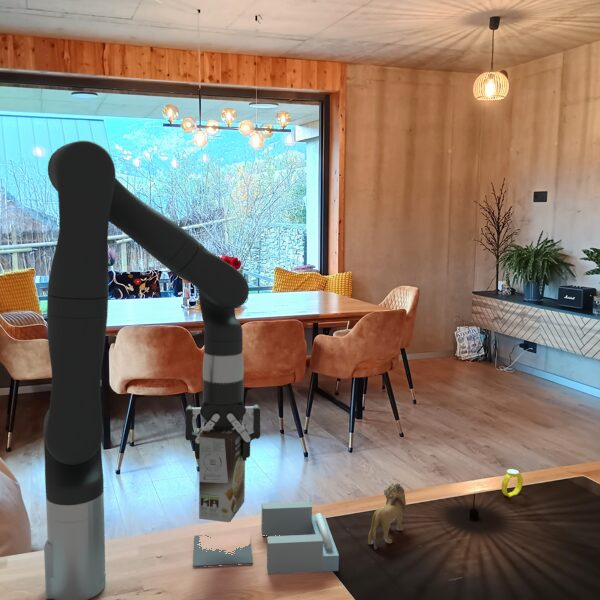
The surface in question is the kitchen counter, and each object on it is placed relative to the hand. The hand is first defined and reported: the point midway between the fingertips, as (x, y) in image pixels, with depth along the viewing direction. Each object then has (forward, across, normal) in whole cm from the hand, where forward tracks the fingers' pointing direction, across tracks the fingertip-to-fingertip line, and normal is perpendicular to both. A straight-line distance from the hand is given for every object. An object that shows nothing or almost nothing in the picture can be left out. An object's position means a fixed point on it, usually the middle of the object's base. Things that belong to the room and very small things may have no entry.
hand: (222, 459), depth 122 cm
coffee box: (+10, 0, 0) cm, 10 cm away
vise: (+18, +15, -1) cm, 23 cm away
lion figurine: (+19, +33, +4) cm, 39 cm away
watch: (+19, +68, +19) cm, 73 cm away
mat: (+18, 0, 0) cm, 18 cm away
